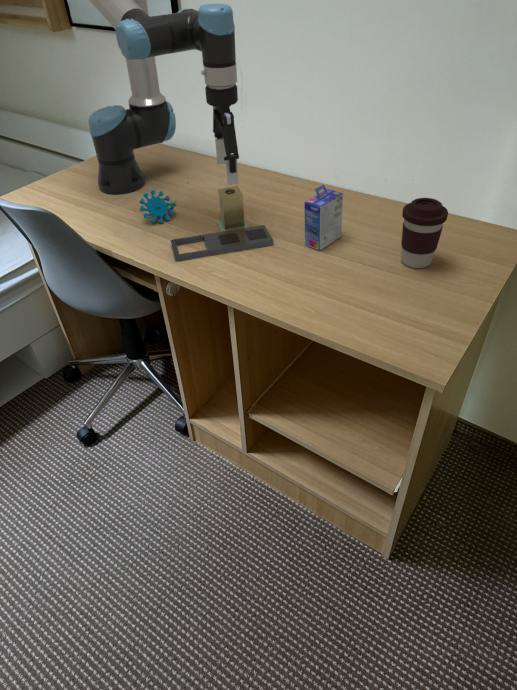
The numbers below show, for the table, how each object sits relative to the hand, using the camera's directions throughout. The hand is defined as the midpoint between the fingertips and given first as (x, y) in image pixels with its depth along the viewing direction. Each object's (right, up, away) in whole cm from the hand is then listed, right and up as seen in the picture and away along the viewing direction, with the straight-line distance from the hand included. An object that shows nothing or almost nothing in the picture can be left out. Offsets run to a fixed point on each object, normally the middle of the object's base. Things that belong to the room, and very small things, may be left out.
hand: (227, 173), depth 130 cm
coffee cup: (+47, -25, -8) cm, 53 cm away
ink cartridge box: (+25, -18, +2) cm, 31 cm away
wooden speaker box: (+1, -11, +9) cm, 15 cm away
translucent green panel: (+1, -12, +9) cm, 15 cm away
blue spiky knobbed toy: (-21, -8, +16) cm, 27 cm away
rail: (-2, -18, +2) cm, 18 cm away
